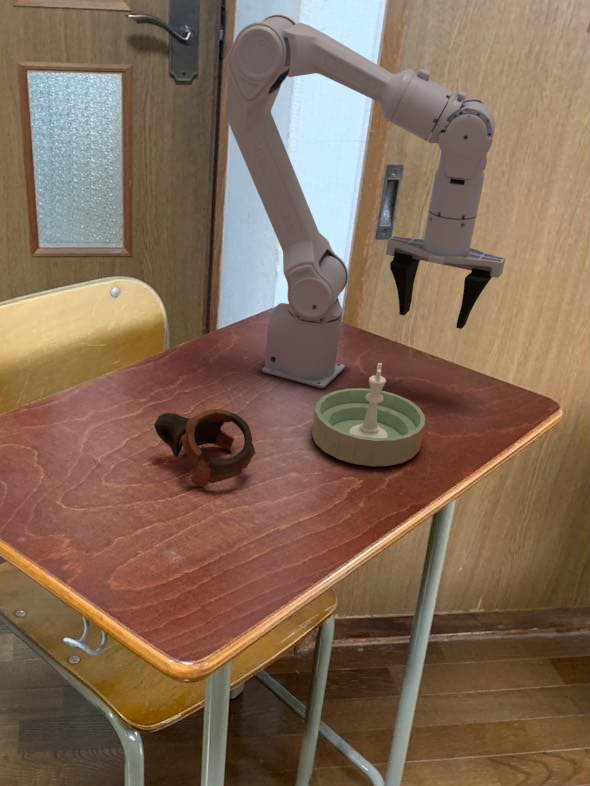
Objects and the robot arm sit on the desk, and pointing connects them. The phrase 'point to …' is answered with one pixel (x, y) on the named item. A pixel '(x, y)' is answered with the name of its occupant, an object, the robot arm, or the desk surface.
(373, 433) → the chess piece
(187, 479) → the desk surface
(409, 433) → the bowl
